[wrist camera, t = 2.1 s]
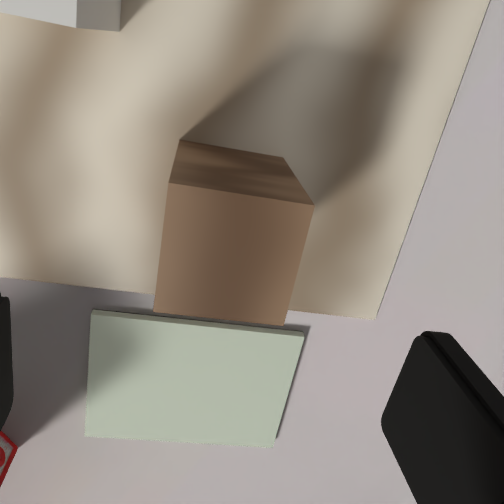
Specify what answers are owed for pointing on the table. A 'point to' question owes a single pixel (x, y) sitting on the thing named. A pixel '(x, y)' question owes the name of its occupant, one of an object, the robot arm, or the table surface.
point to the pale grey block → (68, 12)
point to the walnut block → (231, 235)
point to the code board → (225, 130)
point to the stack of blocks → (6, 455)
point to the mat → (187, 379)
